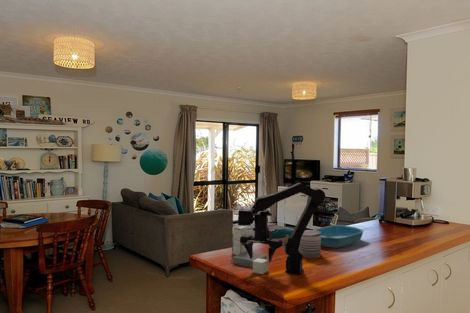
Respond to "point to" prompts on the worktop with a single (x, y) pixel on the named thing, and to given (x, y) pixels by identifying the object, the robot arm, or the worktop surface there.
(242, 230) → the syrup box
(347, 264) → the worktop surface
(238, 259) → the plinth
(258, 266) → the cube
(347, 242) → the casserole dish
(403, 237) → the worktop surface
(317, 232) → the can
